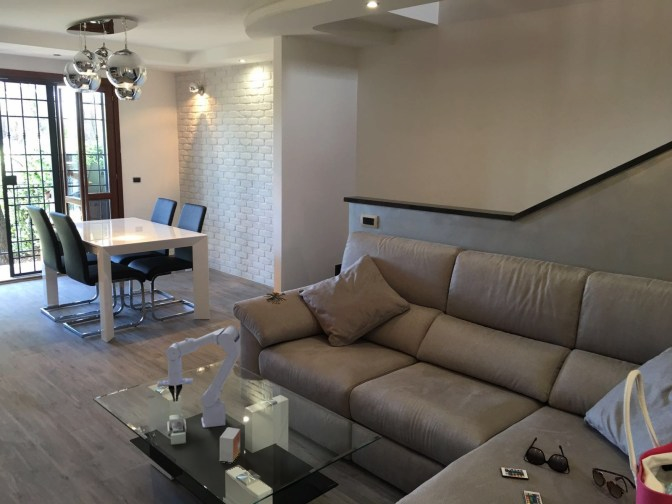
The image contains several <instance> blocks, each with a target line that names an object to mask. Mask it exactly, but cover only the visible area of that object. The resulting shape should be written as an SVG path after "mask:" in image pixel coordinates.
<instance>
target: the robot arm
mask: <svg viewBox="0 0 672 504" xmlns="http://www.w3.org/2000/svg"><path fill="white" fill-rule="evenodd" d="M211 343H214V344H215V345H217V346H218V345H219V346H220V347H221V349H222V350H224V352H225V353H226V356H225V357H224V360H223V361H222V364H221V365H220V367H219V369H218V370H217V372H216V375H215V376H214V378H213V380H212V382H211V384H210V385H209V387H208V388H207V389H206V391H205V392H204V393H203V394H202V395H201V396H200V402H201V405H202V417H201V419H200V420H201V424H202V428H205V429H206V428H210V427H211V428H213V427H219V426H220V427H221V426H226V404H225V401H221V400H220V397H221V396H222V394H223V387H224V385H225V382H226V381H227V379H228V377H229V376H230V374H231V371H232V370H233V367H234V366H235V364H236V362H237V360H238V359H239V357H240V356H241V355H240V354H241V351H242V350H241V333H240V331H239V330H238V328H237V327H235V326H234V325H229V326H227V327H222V328H220V329H217V330H215V331H211V332H210V333H208V334H204V335H203V336H200V337H198V338H194V337H190V338H189V337H186V338H185V339H184V340H182V341H176V342H174V343H172V344H171V345H170V346H169V347H168V348H166V350H165V357H166V358H167V377H168V378H167V379H163V380H159V381H156V382H157V388H161V387H167V388H168V390H169V392H170V394H171V396H172V401H173V402H174V403H175V402H178V401H179V396H180V393H181V391H182V390H183V385H193V384H194V383H193V382H194V380H193V379H194V378H192V377H191V378H190V377H183V361H182V359H183V357H182V356H186V355H188V354H190V353H193V352H196V351H197V350H198V348H199V347H201V346H202V347H203V346H204V345H209V344H211Z"/></svg>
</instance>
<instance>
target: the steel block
mask: <svg viewBox="0 0 672 504" xmlns="http://www.w3.org/2000/svg"><path fill="white" fill-rule="evenodd" d="M171 429H172V430H171V431H172V432H171V434H172V433H180V432H184V427H183V423H182V422H178V423H172V428H171Z"/></svg>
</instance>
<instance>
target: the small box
mask: <svg viewBox="0 0 672 504" xmlns="http://www.w3.org/2000/svg"><path fill="white" fill-rule="evenodd" d="M239 453H240V454H241V429H240V428H237V427H236V428H235V427H229V426H228V427H226V428H225V430H224V431H223V432H222V434H221V435H220V436H219V462H220V461H228V462H233V461H234V460H235V458H236V457H237V456H238V457H239V455H240V454H239ZM238 454H239V455H238ZM238 457H237V458H238ZM237 458H236V459H237ZM235 461H236V460H235ZM235 461H234V462H235Z"/></svg>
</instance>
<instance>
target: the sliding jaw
mask: <svg viewBox="0 0 672 504" xmlns="http://www.w3.org/2000/svg"><path fill="white" fill-rule="evenodd" d="M168 420H169V429H172V423H178V422H182V423H183V428H184V414H183V413H180V414H173V415H172V414H171V415H169V419H168Z"/></svg>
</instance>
